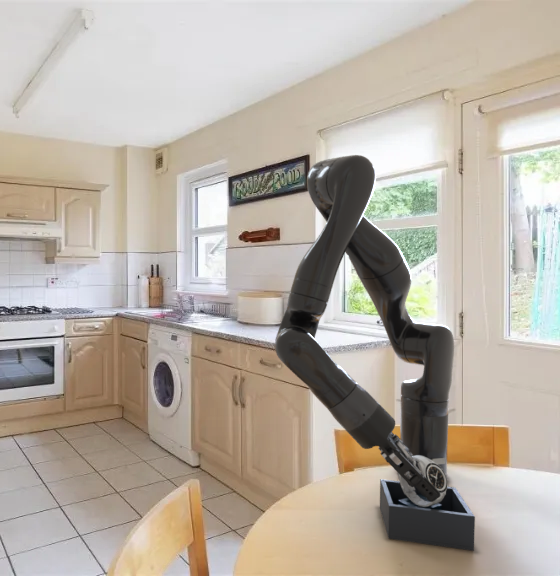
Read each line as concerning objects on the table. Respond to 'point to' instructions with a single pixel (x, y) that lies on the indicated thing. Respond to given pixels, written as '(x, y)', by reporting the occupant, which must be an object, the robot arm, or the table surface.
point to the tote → (427, 519)
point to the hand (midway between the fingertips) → (429, 487)
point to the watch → (435, 478)
